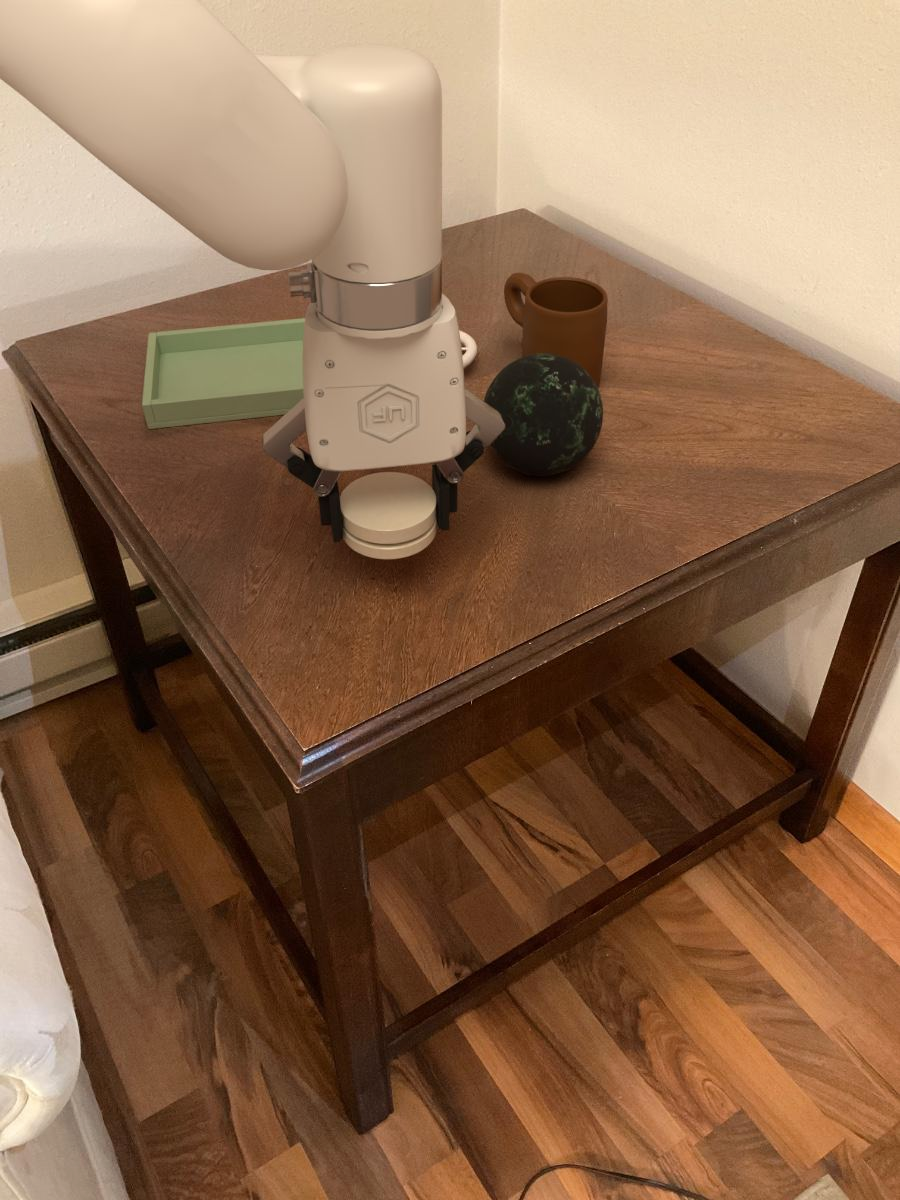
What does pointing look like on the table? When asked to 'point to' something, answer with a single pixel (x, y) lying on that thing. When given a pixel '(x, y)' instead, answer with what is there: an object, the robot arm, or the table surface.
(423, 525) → the beige round container
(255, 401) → the tray
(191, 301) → the table surface
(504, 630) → the table surface
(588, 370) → the mug
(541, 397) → the decorative stone
